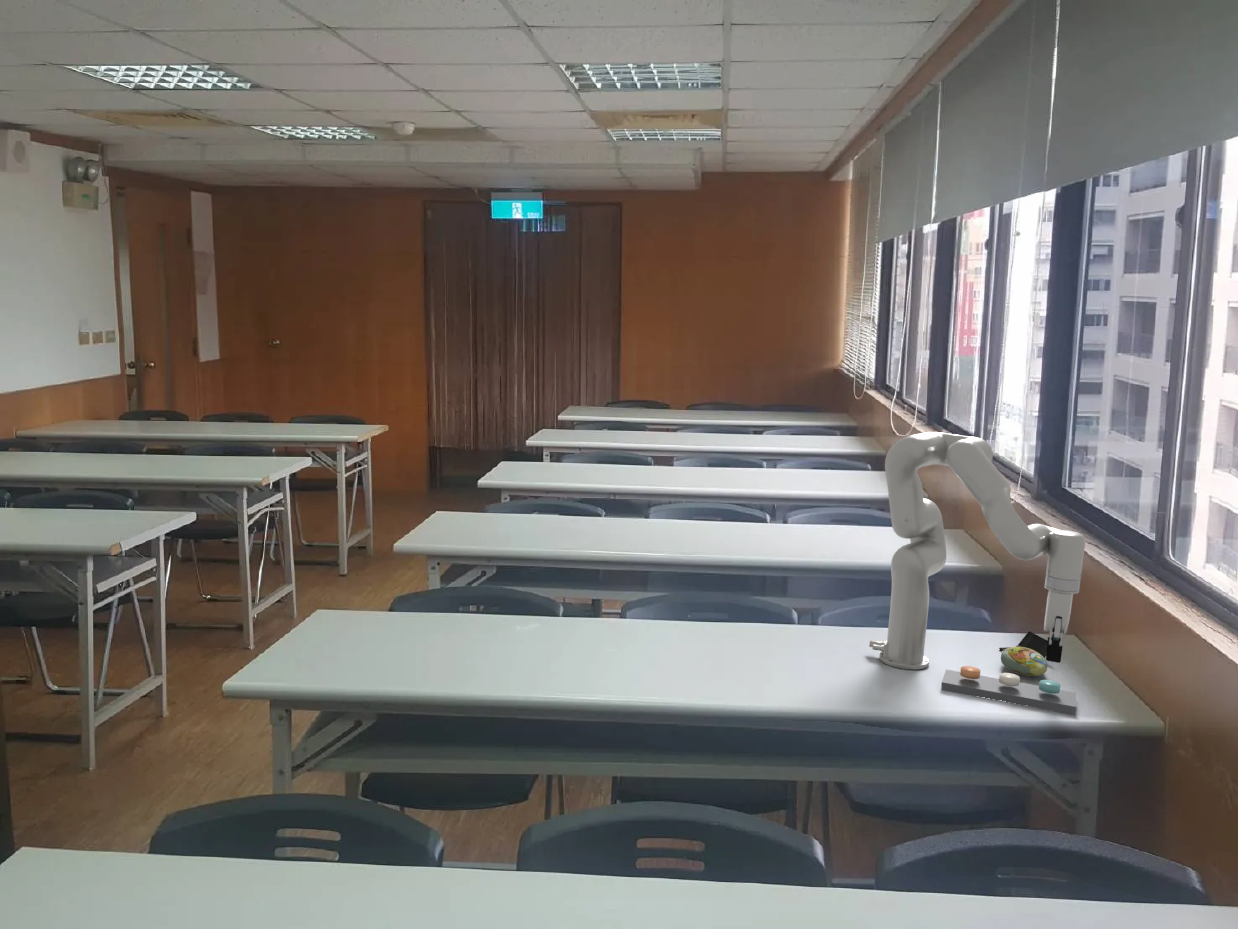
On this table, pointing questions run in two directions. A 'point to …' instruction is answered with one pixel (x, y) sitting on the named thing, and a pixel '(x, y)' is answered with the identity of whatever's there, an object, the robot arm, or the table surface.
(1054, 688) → the button teal
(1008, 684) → the button ivory
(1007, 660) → the cell model
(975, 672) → the button terracotta
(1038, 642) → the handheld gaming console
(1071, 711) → the button panel
